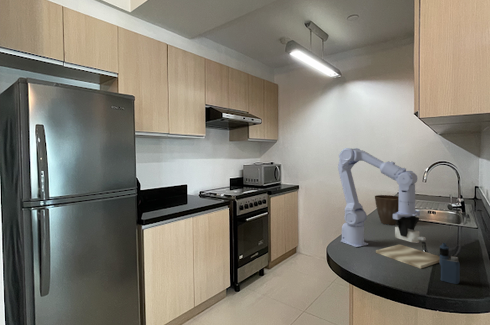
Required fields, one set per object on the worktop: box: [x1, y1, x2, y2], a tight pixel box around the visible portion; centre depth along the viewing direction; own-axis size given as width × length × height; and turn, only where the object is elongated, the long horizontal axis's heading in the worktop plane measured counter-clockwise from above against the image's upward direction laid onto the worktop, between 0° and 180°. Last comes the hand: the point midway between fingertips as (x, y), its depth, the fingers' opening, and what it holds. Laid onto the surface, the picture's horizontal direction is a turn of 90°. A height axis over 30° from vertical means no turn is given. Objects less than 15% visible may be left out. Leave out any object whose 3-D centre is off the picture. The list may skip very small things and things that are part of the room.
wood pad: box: [375, 244, 440, 269], centre depth 108 cm, size 18×16×1 cm
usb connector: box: [394, 226, 427, 244], centre depth 107 cm, size 11×3×4 cm, turn 27°
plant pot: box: [374, 194, 399, 226], centre depth 160 cm, size 15×15×16 cm
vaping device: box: [439, 242, 461, 285], centre depth 87 cm, size 3×5×12 cm, turn 51°
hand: (406, 235), depth 108 cm, fingers closed on usb connector, 3 cm apart
